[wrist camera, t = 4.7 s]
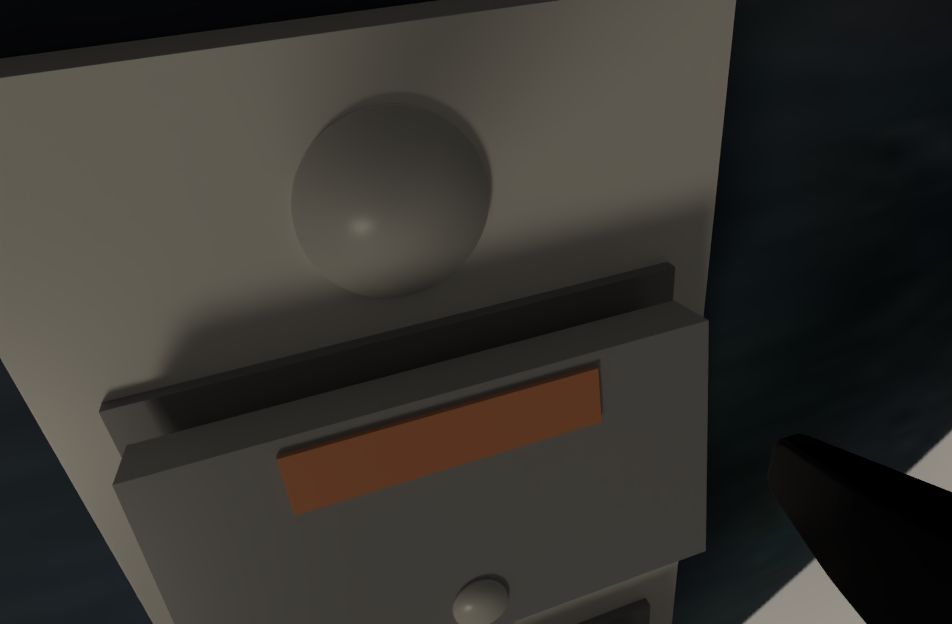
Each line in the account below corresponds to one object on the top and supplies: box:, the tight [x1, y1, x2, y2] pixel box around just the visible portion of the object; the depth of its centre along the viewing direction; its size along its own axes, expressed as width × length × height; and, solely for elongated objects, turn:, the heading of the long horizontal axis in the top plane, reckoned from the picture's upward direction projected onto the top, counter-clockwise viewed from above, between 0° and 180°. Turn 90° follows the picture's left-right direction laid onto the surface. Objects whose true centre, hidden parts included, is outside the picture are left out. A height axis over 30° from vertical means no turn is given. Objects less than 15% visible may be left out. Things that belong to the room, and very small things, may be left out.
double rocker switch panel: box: [0, 0, 736, 624], centre depth 19 cm, size 30×14×3 cm, turn 6°
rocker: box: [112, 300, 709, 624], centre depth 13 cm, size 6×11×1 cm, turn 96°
